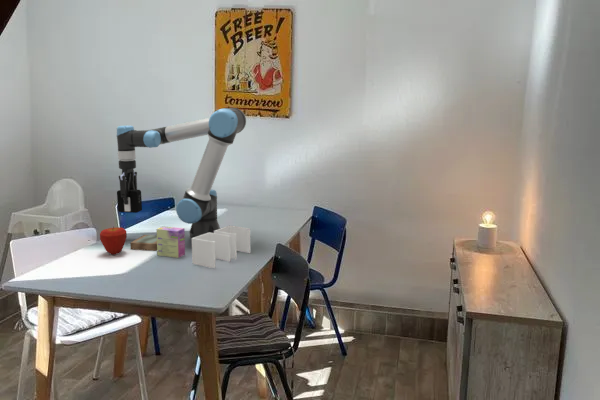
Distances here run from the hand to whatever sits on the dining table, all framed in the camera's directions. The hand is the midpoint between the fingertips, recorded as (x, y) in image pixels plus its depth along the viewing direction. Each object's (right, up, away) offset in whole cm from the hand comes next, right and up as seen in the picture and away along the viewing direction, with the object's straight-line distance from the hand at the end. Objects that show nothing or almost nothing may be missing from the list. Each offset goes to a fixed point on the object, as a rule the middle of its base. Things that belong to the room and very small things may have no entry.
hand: (130, 209), depth 269 cm
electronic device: (0, -1, 0) cm, 1 cm away
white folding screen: (+46, -20, -25) cm, 56 cm away
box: (+24, -19, -21) cm, 37 cm away
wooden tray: (+11, -16, -7) cm, 21 cm away
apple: (-1, -19, -19) cm, 27 cm away
